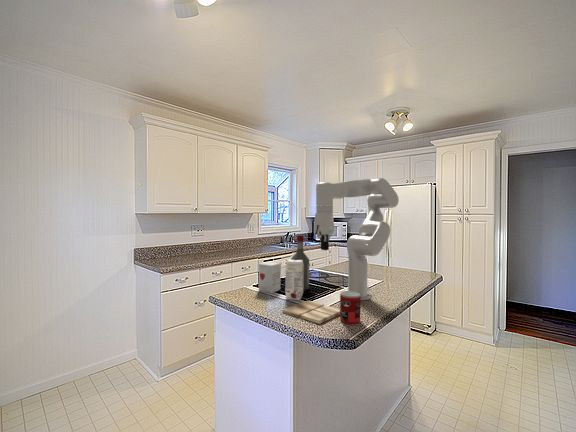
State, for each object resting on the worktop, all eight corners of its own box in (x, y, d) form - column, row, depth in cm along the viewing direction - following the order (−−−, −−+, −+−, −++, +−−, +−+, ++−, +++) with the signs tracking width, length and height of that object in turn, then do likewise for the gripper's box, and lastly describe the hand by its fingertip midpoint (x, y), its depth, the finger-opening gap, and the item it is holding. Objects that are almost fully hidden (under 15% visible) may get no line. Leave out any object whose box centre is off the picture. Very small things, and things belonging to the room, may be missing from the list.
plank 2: (325, 307, 131) (325, 305, 131) (343, 312, 125) (343, 310, 125) (314, 312, 125) (314, 309, 125) (332, 317, 119) (332, 314, 119)
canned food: (337, 317, 120) (338, 291, 119) (356, 317, 120) (357, 290, 120) (342, 324, 112) (343, 296, 112) (363, 324, 113) (363, 296, 112)
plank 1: (313, 312, 124) (313, 310, 124) (331, 318, 118) (331, 315, 118) (300, 318, 118) (300, 314, 118) (319, 323, 112) (319, 320, 112)
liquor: (304, 285, 170) (304, 234, 169) (310, 289, 161) (310, 236, 161) (289, 286, 167) (290, 234, 167) (294, 291, 158) (295, 236, 158)
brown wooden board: (308, 302, 138) (308, 300, 138) (324, 307, 132) (324, 304, 132) (282, 312, 125) (282, 309, 125) (299, 318, 119) (299, 315, 119)
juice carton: (301, 300, 141) (302, 262, 141) (284, 299, 143) (284, 261, 142) (303, 296, 148) (304, 259, 148) (287, 295, 150) (287, 258, 150)
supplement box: (258, 291, 158) (258, 263, 158) (267, 287, 165) (267, 261, 165) (271, 293, 153) (271, 265, 153) (280, 289, 161) (281, 262, 160)
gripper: (326, 209, 140) (327, 247, 141) (307, 210, 129) (308, 251, 129) (340, 209, 135) (340, 248, 136) (321, 210, 124) (322, 252, 124)
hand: (324, 249), depth 132 cm, fingers closed
